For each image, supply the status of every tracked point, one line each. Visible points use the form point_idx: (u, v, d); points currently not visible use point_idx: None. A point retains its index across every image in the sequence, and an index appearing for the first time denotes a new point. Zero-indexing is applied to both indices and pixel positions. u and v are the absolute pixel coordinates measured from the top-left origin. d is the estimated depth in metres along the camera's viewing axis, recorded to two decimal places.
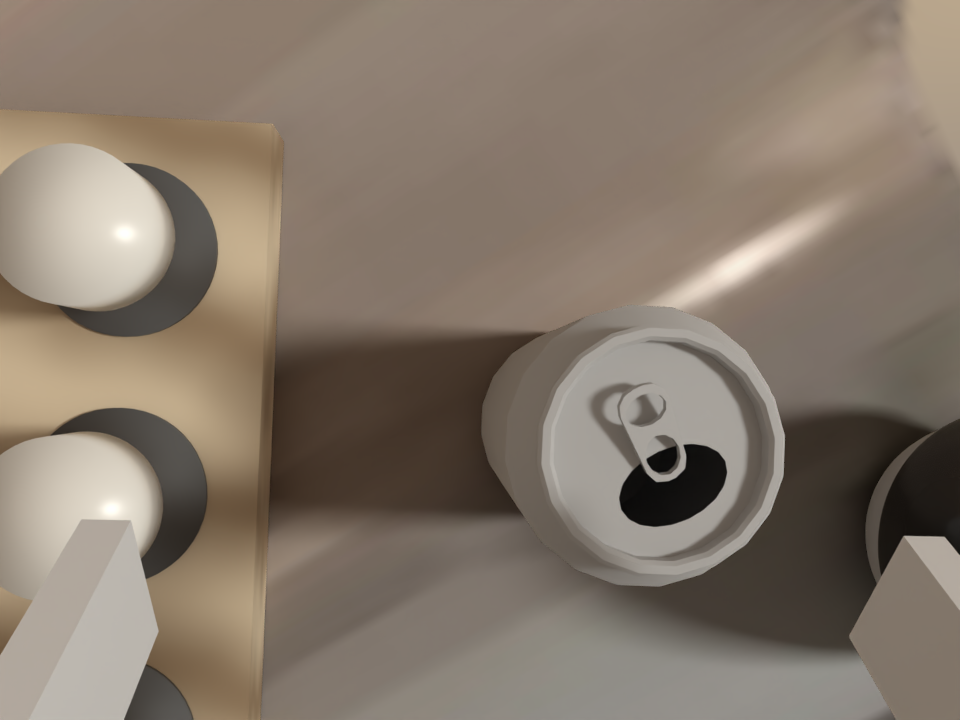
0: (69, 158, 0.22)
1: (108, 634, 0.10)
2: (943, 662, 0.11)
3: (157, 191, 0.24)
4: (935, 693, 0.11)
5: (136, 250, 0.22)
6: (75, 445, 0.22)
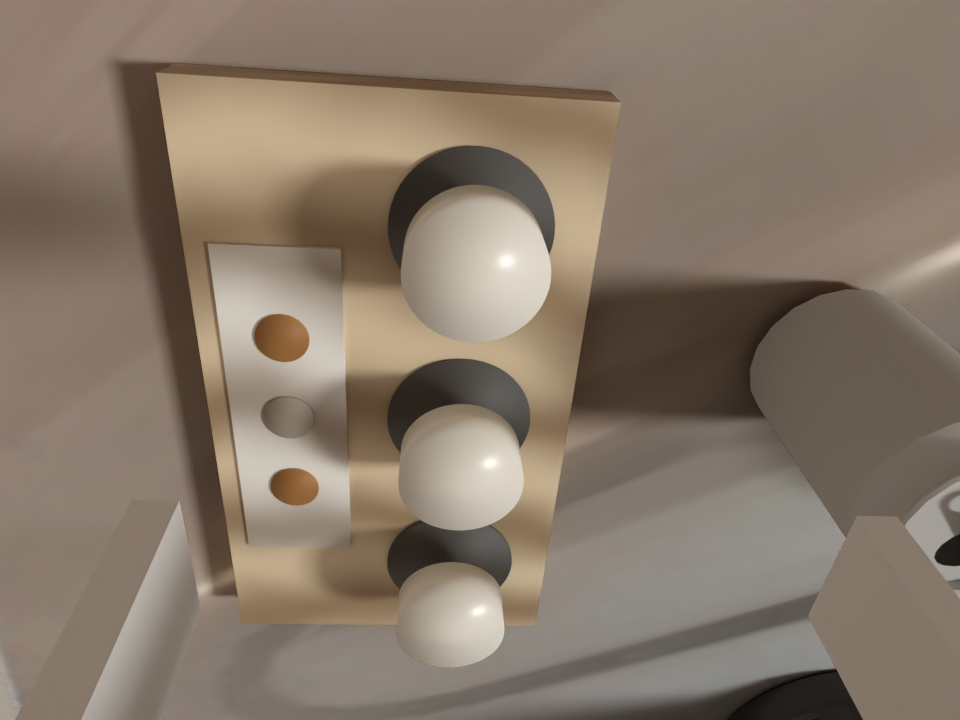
0: (478, 218, 0.22)
1: (159, 608, 0.11)
2: (891, 636, 0.12)
3: (533, 216, 0.24)
4: (883, 668, 0.12)
5: (535, 299, 0.24)
6: (478, 440, 0.27)
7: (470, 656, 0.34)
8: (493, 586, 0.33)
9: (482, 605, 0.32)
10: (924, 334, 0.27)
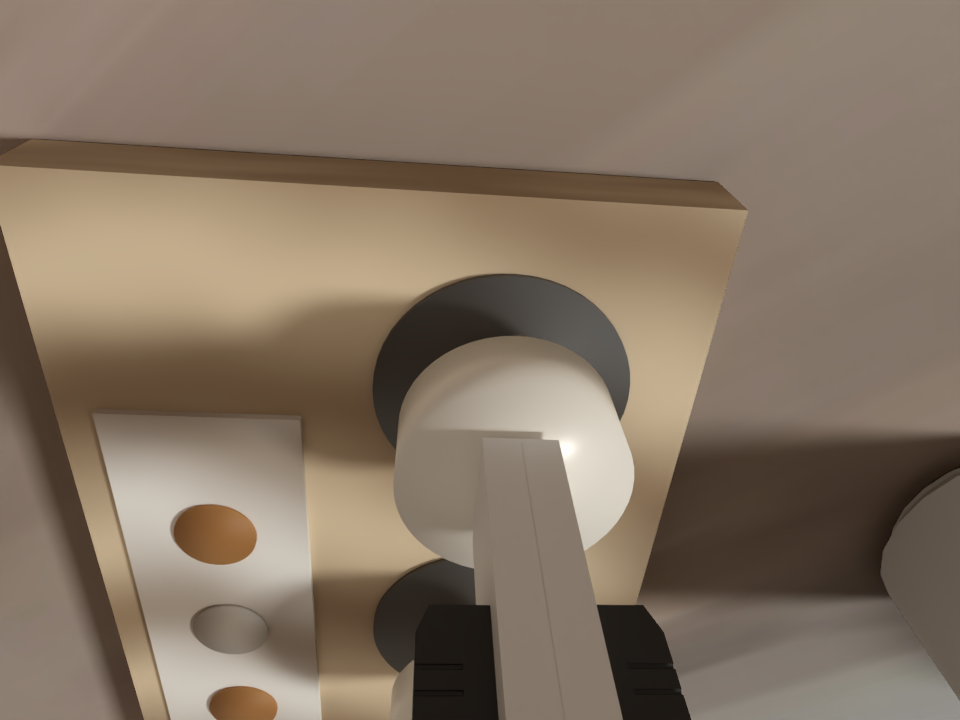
0: (522, 408, 0.14)
1: None
2: None
3: (602, 382, 0.15)
4: None
5: (606, 516, 0.15)
6: None
7: None
8: None
9: None
10: None
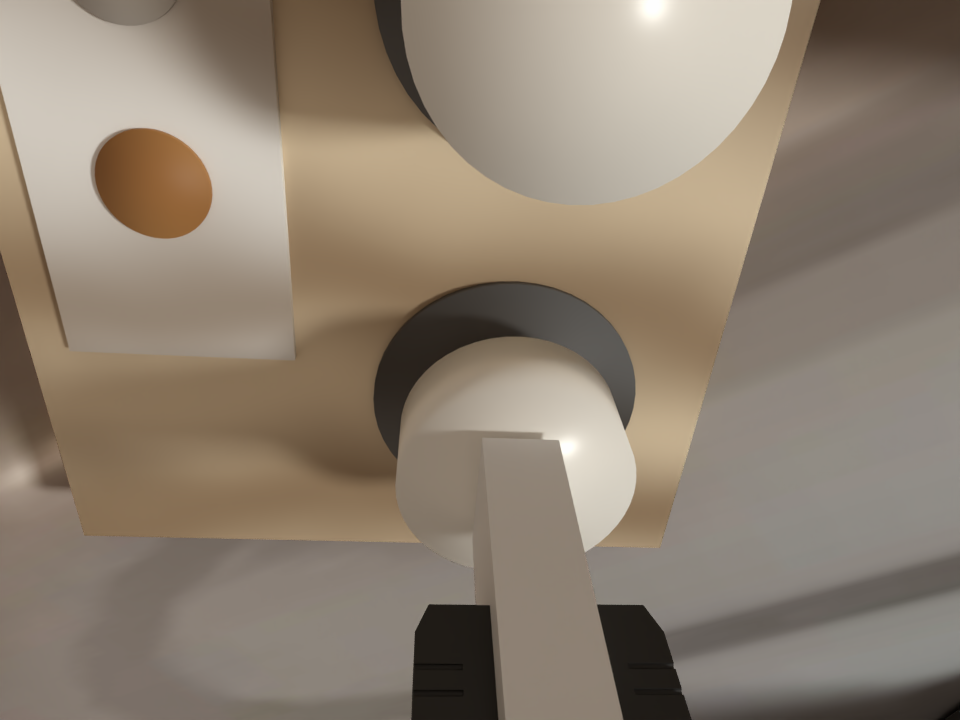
0: None
1: None
2: None
3: None
4: None
5: None
6: None
7: None
8: (608, 392, 0.15)
9: (596, 414, 0.14)
10: None
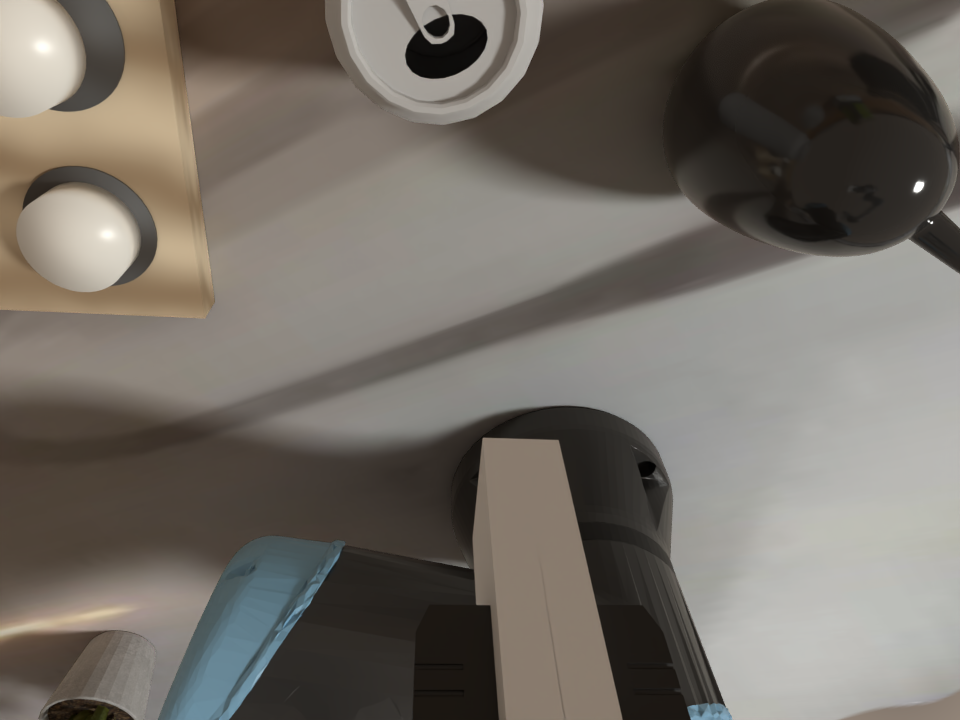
0: None
1: None
2: None
3: None
4: None
5: None
6: None
7: (101, 278, 0.35)
8: (119, 207, 0.35)
9: (93, 208, 0.33)
10: None
